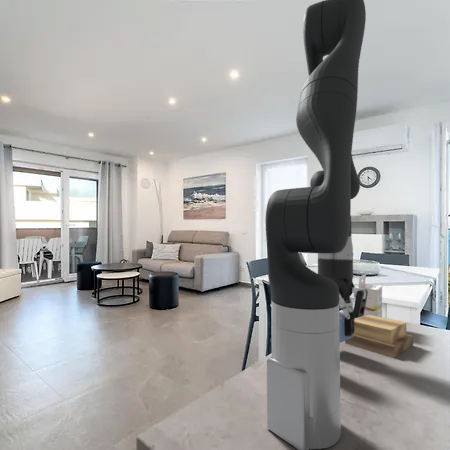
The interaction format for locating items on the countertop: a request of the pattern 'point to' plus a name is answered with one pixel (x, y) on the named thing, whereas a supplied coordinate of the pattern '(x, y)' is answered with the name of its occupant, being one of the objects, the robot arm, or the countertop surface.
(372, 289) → the ink cartridge box
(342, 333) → the slate block
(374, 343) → the walnut base slab
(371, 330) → the oak top slab
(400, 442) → the countertop surface
